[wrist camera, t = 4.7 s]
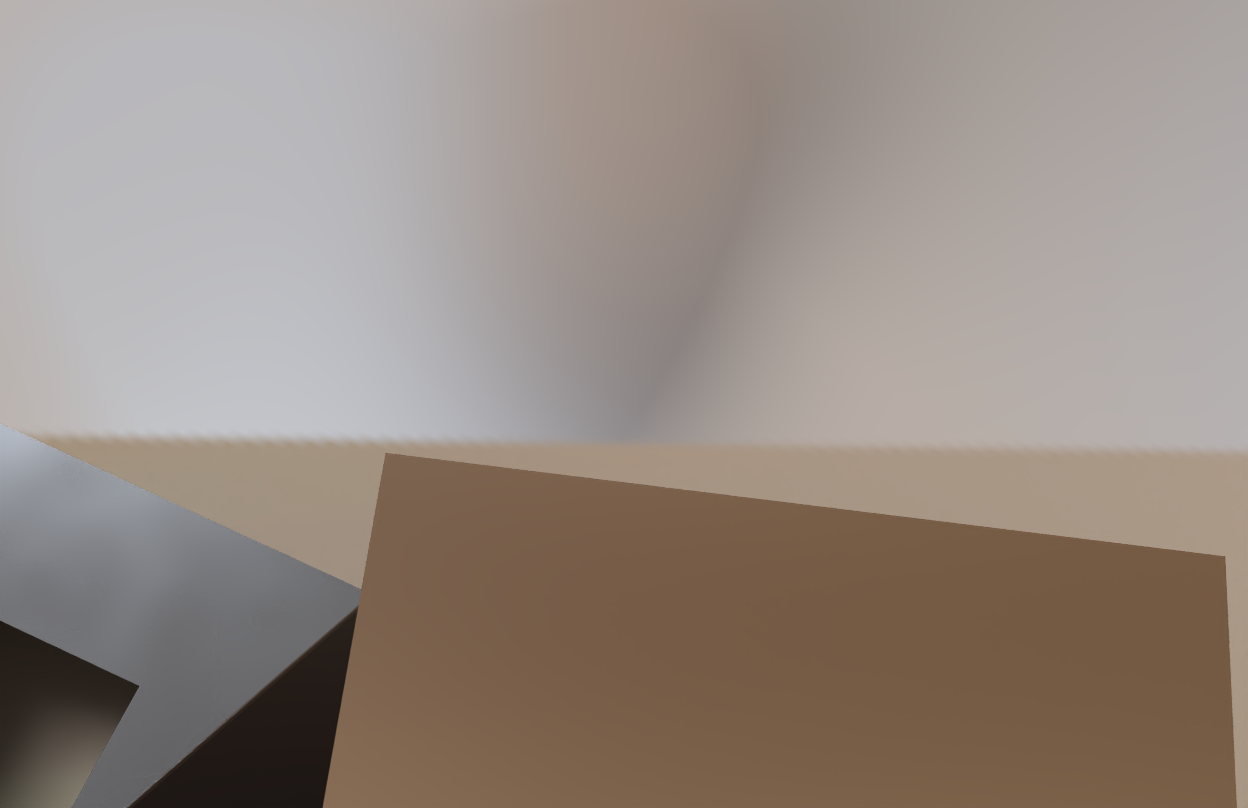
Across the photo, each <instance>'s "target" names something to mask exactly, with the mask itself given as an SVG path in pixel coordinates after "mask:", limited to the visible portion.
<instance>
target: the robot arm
mask: <svg viewBox="0 0 1248 808" xmlns="http://www.w3.org/2000/svg"><path fill="white" fill-rule="evenodd" d="M358 606H359V605H358ZM358 606H357V607H356V608H354V609H353V610H352V611H351V612H350V613H349V614H347V615H346V616H345V617H344V618H343V619H342V620H341V621H339V622H338V623H337V624H336V625H335V626H334V627H333V628H331V629H330V630H329V631H328V632H327V633H326V634H324V635H323V636H322V637H321V638H320V639H319V640H318V641H316V642H315V643H314V644H313V645H312V646H311V647H309V648H308V649H307V650H306V651H305V652H304V653H303V654H301V655H300V656H299V657H298V658H297V659H296V660H294V661H293V662H292V663H291V664H290V665H289V666H288V667H286V668H285V669H284V670H283V671H282V672H281V673H279V674H278V675H277V676H276V677H275V678H274V679H273V680H271V681H270V682H269V683H268V684H267V685H266V686H264V687H263V688H262V689H261V690H260V691H259V692H258V693H256V694H255V695H254V696H253V697H252V698H251V699H249V700H248V701H247V702H246V703H245V704H244V705H243V706H241V707H240V708H239V709H238V710H237V711H236V712H235V713H233V714H232V715H231V716H230V717H229V718H228V719H226V720H225V721H224V722H223V723H222V724H221V725H220V726H218V727H217V728H216V729H215V730H214V731H213V732H211V733H210V734H209V735H208V736H207V737H206V738H205V739H203V740H202V741H201V742H200V743H199V744H198V745H196V746H195V747H194V748H193V749H192V750H191V751H190V752H188V753H187V754H186V755H185V756H184V757H183V758H181V759H180V760H179V761H178V762H177V763H176V764H175V765H173V766H172V767H171V768H170V769H169V770H168V771H166V772H165V773H164V774H163V775H162V776H161V777H160V778H158V779H157V780H156V781H155V782H154V783H153V784H151V785H150V786H149V787H148V788H147V789H146V790H145V791H143V792H142V793H141V794H140V795H139V796H138V797H137V798H135V799H134V800H133V801H132V802H131V803H130V804H128V805H127V806H126V807H125V808H323V803H324V798H325V792H326V786H327V781H328V775H329V769H330V764H331V758H332V753H333V747H334V741H335V736H336V730H337V724H338V719H339V713H340V708H341V702H342V696H343V691H344V685H345V679H346V674H347V668H348V662H349V657H350V651H351V646H352V640H353V634H354V629H355V623H356V617H357V612H358Z"/></svg>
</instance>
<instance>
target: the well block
mask: <svg viewBox="0 0 1248 808" xmlns="http://www.w3.org/2000/svg"><path fill="white" fill-rule="evenodd" d="M360 595H361V589H359V588H357V587H355V586H353V585H350V584H348V583H346V582H344V581H342V580H340V579H337V578H335V577H333V576H331V575H329V574H326V573H324V572H322V571H320V570H318V569H316V568H313V567H311V566H309V565H307V564H305V563H303V562H300V561H298V560H296V559H294V558H292V557H290V556H287V555H285V554H283V553H281V552H279V551H277V550H274V549H272V548H270V547H268V546H266V545H263V544H261V543H259V542H257V541H255V540H253V539H250V538H248V537H246V536H244V535H242V534H240V533H237V532H235V531H233V530H231V529H229V528H227V527H224V526H222V525H220V524H218V523H216V522H214V521H211V520H209V519H207V518H205V517H203V516H200V515H198V514H196V513H194V512H192V511H190V510H187V509H185V508H183V507H181V506H179V505H177V504H174V503H172V502H170V501H168V500H166V499H164V498H161V497H159V496H157V495H155V494H153V493H150V492H148V491H146V490H144V489H142V488H140V487H137V486H135V485H133V484H131V483H129V482H127V481H124V480H122V479H120V478H118V477H116V476H114V475H111V474H109V473H107V472H105V471H103V470H101V469H98V468H96V467H94V466H92V465H90V464H87V463H85V462H83V461H81V460H79V459H77V458H74V457H72V456H70V455H68V454H66V453H64V452H61V451H59V450H57V449H55V448H53V447H51V446H48V445H46V444H44V443H42V442H40V441H38V440H35V439H33V438H31V437H29V436H27V435H24V434H22V433H20V432H18V431H16V430H14V429H11V428H9V427H7V426H5V425H3V424H1V423H0V621H2V622H4V623H6V624H9V625H11V626H13V627H15V628H17V629H19V630H21V631H23V632H26V633H28V634H30V635H32V636H34V637H36V638H38V639H40V640H43V641H45V642H47V643H49V644H51V645H53V646H55V647H57V648H60V649H62V650H64V651H66V652H68V653H70V654H72V655H75V656H77V657H79V658H81V659H83V660H85V661H87V662H89V663H92V664H94V665H96V666H98V667H100V668H102V669H104V670H106V671H109V672H111V673H113V674H115V675H117V676H119V677H121V678H123V679H126V680H128V681H130V682H132V683H134V684H136V685H138V686H139V688H138V690H137V692H136V693H135V695H134V697H133V699H132V700H131V702H130V704H129V706H128V708H127V709H126V711H125V713H124V715H123V717H122V718H121V720H120V722H119V724H118V726H117V727H116V729H115V731H114V733H113V735H112V736H111V738H110V740H109V742H108V743H107V745H106V747H105V749H104V751H103V752H102V754H101V756H100V758H99V760H98V761H97V763H96V765H95V767H94V769H93V770H92V772H91V774H90V776H89V778H88V779H87V781H86V783H85V785H84V786H83V788H82V790H81V792H80V794H79V795H78V797H77V799H76V801H75V803H74V804H73V806H72V808H125V807H126V806H127V805H128V804H130V803H131V802H132V801H133V800H134V799H135V798H137V797H138V796H139V795H140V794H141V793H142V792H143V791H145V790H146V789H147V788H148V787H149V786H150V785H151V784H153V783H154V782H155V781H156V780H157V779H158V778H160V777H161V776H162V775H163V774H164V773H165V772H166V771H168V770H169V769H170V768H171V767H172V766H173V765H175V764H176V763H177V762H178V761H179V760H180V759H181V758H183V757H184V756H185V755H186V754H187V753H188V752H190V751H191V750H192V749H193V748H194V747H195V746H196V745H198V744H199V743H200V742H201V741H202V740H203V739H205V738H206V737H207V736H208V735H209V734H210V733H211V732H213V731H214V730H215V729H216V728H217V727H218V726H220V725H221V724H222V723H223V722H224V721H225V720H226V719H228V718H229V717H230V716H231V715H232V714H233V713H235V712H236V711H237V710H238V709H239V708H240V707H241V706H243V705H244V704H245V703H246V702H247V701H248V700H249V699H251V698H252V697H253V696H254V695H255V694H256V693H258V692H259V691H260V690H261V689H262V688H263V687H264V686H266V685H267V684H268V683H269V682H270V681H271V680H273V679H274V678H275V677H276V676H277V675H278V674H279V673H281V672H282V671H283V670H284V669H285V668H286V667H288V666H289V665H290V664H291V663H292V662H293V661H294V660H296V659H297V658H298V657H299V656H300V655H301V654H303V653H304V652H305V651H306V650H307V649H308V648H309V647H311V646H312V645H313V644H314V643H315V642H316V641H318V640H319V639H320V638H321V637H322V636H323V635H324V634H326V633H327V632H328V631H329V630H330V629H331V628H333V627H334V626H335V625H336V624H337V623H338V622H339V621H341V620H342V619H343V618H344V617H345V616H346V615H347V614H349V613H350V612H351V611H352V610H353V609H354V608H356V607H357V606H358V605H359V600H360Z"/></svg>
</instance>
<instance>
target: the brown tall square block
mask: <svg viewBox="0 0 1248 808" xmlns="http://www.w3.org/2000/svg"><path fill="white" fill-rule="evenodd" d="M323 808H1237V803H1236V781H1235V759H1234V738H1233V716H1232V694H1231V673H1230V651H1229V629H1228V608H1227V586H1226V564H1225V556H1217V555H1209V554H1201V553H1193V552H1185V551H1176V550H1168V549H1160V548H1152V547H1144V546H1136V545H1128V544H1120V543H1112V542H1103V541H1095V540H1087V539H1079V538H1071V537H1063V536H1055V535H1047V534H1038V533H1030V532H1022V531H1014V530H1006V529H998V528H990V527H982V526H974V525H965V524H957V523H949V522H941V521H933V520H925V519H917V518H909V517H900V516H892V515H884V514H876V513H868V512H860V511H852V510H844V509H836V508H827V507H819V506H811V505H803V504H795V503H787V502H779V501H771V500H762V499H754V498H746V497H738V496H730V495H722V494H714V493H706V492H698V491H689V490H681V489H673V488H665V487H657V486H649V485H641V484H633V483H624V482H616V481H608V480H600V479H592V478H584V477H576V476H568V475H560V474H551V473H543V472H535V471H527V470H519V469H511V468H503V467H495V466H486V465H478V464H470V463H462V462H454V461H446V460H438V459H430V458H422V457H413V456H405V455H397V454H389V453H386V454H385V460H384V465H383V471H382V477H381V482H380V488H379V493H378V499H377V505H376V510H375V516H374V522H373V527H372V533H371V539H370V544H369V550H368V555H367V561H366V567H365V572H364V578H363V584H362V589H361V595H360V600H359V606H358V612H357V617H356V623H355V629H354V634H353V640H352V646H351V651H350V657H349V662H348V668H347V674H346V679H345V685H344V691H343V696H342V702H341V708H340V713H339V719H338V724H337V730H336V736H335V741H334V747H333V753H332V758H331V764H330V769H329V775H328V781H327V786H326V792H325V798H324V803H323Z"/></svg>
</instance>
